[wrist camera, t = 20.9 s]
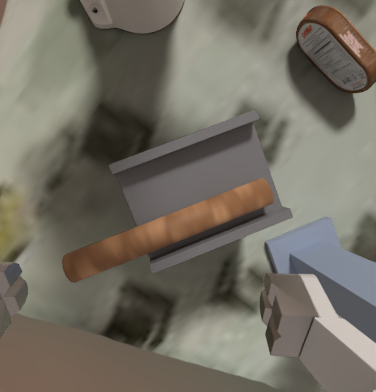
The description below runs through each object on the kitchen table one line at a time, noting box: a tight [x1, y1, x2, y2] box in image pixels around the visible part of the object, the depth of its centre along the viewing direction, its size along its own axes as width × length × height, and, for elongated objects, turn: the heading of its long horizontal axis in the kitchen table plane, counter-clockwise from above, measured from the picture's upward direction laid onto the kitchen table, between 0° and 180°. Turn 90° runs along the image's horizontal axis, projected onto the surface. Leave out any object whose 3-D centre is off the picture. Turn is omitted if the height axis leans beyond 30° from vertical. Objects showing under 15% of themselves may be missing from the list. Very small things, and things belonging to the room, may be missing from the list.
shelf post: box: [265, 217, 376, 343], centre depth 34 cm, size 12×12×27 cm
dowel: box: [62, 178, 274, 283], centre depth 28 cm, size 22×3×3 cm
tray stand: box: [108, 110, 293, 274], centre depth 36 cm, size 16×12×18 cm
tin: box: [296, 5, 376, 93], centre depth 41 cm, size 15×3×8 cm, turn 48°
